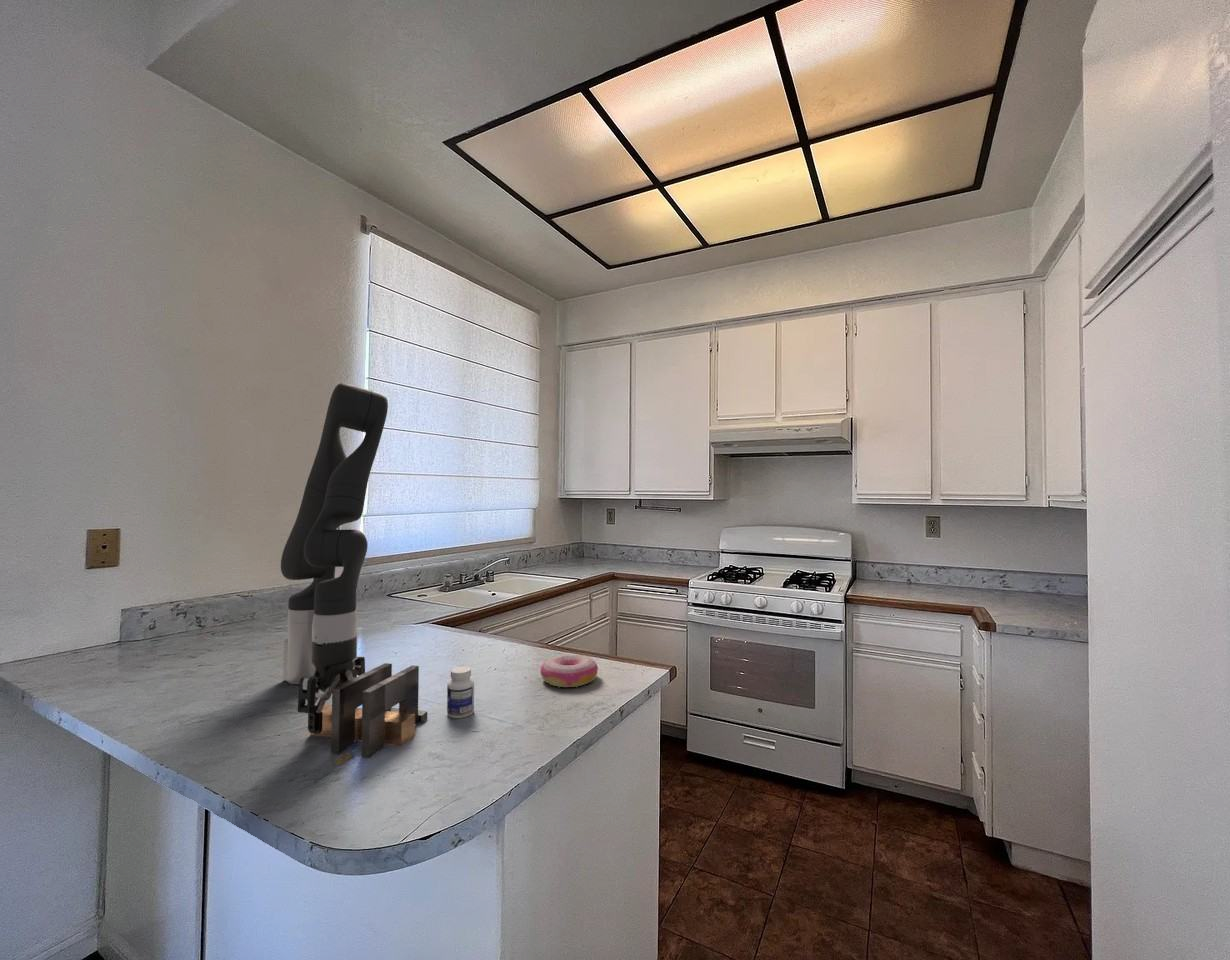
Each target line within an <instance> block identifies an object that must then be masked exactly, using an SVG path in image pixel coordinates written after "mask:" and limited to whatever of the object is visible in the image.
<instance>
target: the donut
mask: <svg viewBox="0 0 1230 960" xmlns="http://www.w3.org/2000/svg"><path fill="white" fill-rule="evenodd" d="M598 669H599V667H598V665H597V663H596V661H595V660H594V659H593V658H591V657H589V656H586V655H582V654H572V653H571V654H570V653H569V654H560V655H555V656H552V657H549V658H548V659H546V660H545V661H544V662H543V663H542V664H541V667H540V675H541V678H542V680H543V681H544V682H546V683H547V684H548V683H549V684H548V685H549V686H552V685H554V686H553V687H555V686H558V687H557V688H560V687H576V686H581V685H584V684H587V683H589V682H590V683H591V682H593V681H594V680H595V679H596V677H597V675H598V671H599V670H598ZM590 683H589V684H590ZM587 685H588V684H587ZM584 686H585V685H584ZM581 687H582V686H581ZM576 688H577V687H576Z"/></svg>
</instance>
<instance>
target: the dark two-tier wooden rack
mask: <svg viewBox="0 0 1230 960" xmlns="http://www.w3.org/2000/svg"><path fill="white" fill-rule="evenodd" d="M392 672H393V664H392V663H387V662H386V663H385V662H384V663H383V664H381V665H379V666H377V667H374V668H372V669H370V670H368V671H365V673H364V674H362V675H360V676H358V675H357V677H355V678H353V679H351V680H349V681H347V682H345V683H343V684H341V685H339V686H337V687H335V688H333V689H332V694H331V705H332V733H331V737H330V738H331V741H330V742H331V744H330V753H331V754H335V755H339V754H341V753H342V752H344V751H345V750H347V749H349V748H350V747H352V746H353V745H355V744H356V740H355V708H360V707H361V708H362V741H361V749H360V750H361V755H360V756H361V758H364V759H371V758H372V757H373V756H374V755H376V754H377V753H379V752H380V751H382V750H383V749H384V748H385V744H384V724H385V711H391V712H400V713H409V714H415V726H416V725H417V724H423V723H424V722H426V721H427V720H428V711H426V710H419V689H420V688H419V679H420V678H419V675H420V674H419V672H420V667H419V665H410V666H409V667H406V668H405V669H402V670H401V671H399V672H397V673H395V674H392ZM396 705H398V708H397V707H395V706H396ZM351 758H353V753H348V752H347V753H345V754H343V755H342V756H340V757H338V758H337V759H336V760H334V761H333V762H332V765H335V766H340V765H342V764H344V763H345V762H346V761H348V760H350V759H351Z"/></svg>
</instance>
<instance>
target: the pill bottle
mask: <svg viewBox="0 0 1230 960" xmlns="http://www.w3.org/2000/svg"><path fill="white" fill-rule="evenodd" d="M471 676H472V668H471V667H470V666H457V667H453V668H452V669H450V680H449V681H448V682H447V688H446V689H447V690H446V691H447V694H446V695H447V696H446V697H447V698H446V701H447V702H446V714H447V716H448V717H449V718H452V719H463V717H464V718H467V717H469V716H472V714H473V713H474V711H475V681H474V679H473V678H472V677H471Z"/></svg>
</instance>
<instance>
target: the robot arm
mask: <svg viewBox="0 0 1230 960" xmlns="http://www.w3.org/2000/svg"><path fill="white" fill-rule="evenodd" d="M328 402H329V404H328V407H327V410H326V415H325V419H324V424H323V428H322V433H321V437H320V441H319V445H318V448H317V451H316V454H315V458H314V460H313V464H312V467H311V469H310V472H309V476H308V477H307V481H306V485H305V487H304V490H303V494H302V495H303V496H302V497H301V498H302V500H301V503H300V506H299V509H298V514H297V515H296V519H295V522H294V523H293V526H292V529H291V531H290V533H289V536H288V538H287V539H286V543H285V545H284V548H283V551H282V553H281V559H280V571H281V574H282V576H283V578H285V579H287V580H289V581H302V580H311V579H313V580H312V582H311V583H310V584H309V585H308V586H307V587H305V588H303V589H302V590H300V591H298V592H296V593H294V594H292V595H290V597H289V598H288V603H287V604H288V607H287V609H288V611H287V613H288V614H287V639H285V640H284V642H283V674H282V675H283V676H282V678H283V679H282V680H283V681H284V682H287V683H288V684H291V685H298V695H297V696H298V697H297V713H300V714H301V713H302V714H303V713H304V714H307V731H308V732H309V733H310V734H311V733H313V734H318V733H320V732H322V719H323V712H321V711H322V709H323V707H324V706H325V704H326V702H328V701H329V700H330V698H332V689H333V688H335V687H337V686H339V685H341V684H343V683H345V682H347V681H349V680H351V679H353V678H355V677H358V676H360V675H362V674H364V673H366V657H364V656H359V655H358V650H357V649H358V647H357V646H358V618H357V587H358V582H359V579H360V574H361V570H362V567H363V564H364V562H365V558H366V556H367V552H368V545H369V544H368V539H367V537H366V535H365V534H364V533H363V532H362V531H361V530H359V529H338V528H339V527H340V526H342V525H346V524H350V523H355V522H356V521H358V520H360V519H361V517H363V512H364V507H365V500H366V495H367V488H368V483H369V478H370V475H371V470H372V467H373V464H374V461H375V458H376V455H377V451H378V449H379V445H380V442H381V438H382V434H383V431H384V427H385V424H386V419H387V415H388V409H389V406H388V405H389V401H388V398H387V397H386V395H384V394H383V393H381V392H377V391H374V390H371V389H367V388H364V387H361V386H360V387H359V386H356V385H354V384H350V383H346V382H345V383H344V382H340V383H338V384H337V385H336V386H335V387H334V389H333V391H332V393H331V395H330V398H329V401H328ZM341 428H345V429H350V430H352V431H356V432H362V433H365V434H364V438H363V439H362V442H361V443H360V444H359V446H357V447H356V449H355V450H354V451H353V452H352V453H351V454H349V455H348V456H347V455H346V453H345V451H344V450H345V449H344V447H343V443H342V439H341V432H340V431H341ZM342 567H343V569H342V572H341V574H340V575H339V576H338V577H335V576H336V568H342ZM357 655H358V656H357ZM320 691H321V692H322V693H319V692H320ZM306 701H307V704H306ZM317 701H318V702H317ZM316 703H317V704H316Z"/></svg>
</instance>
